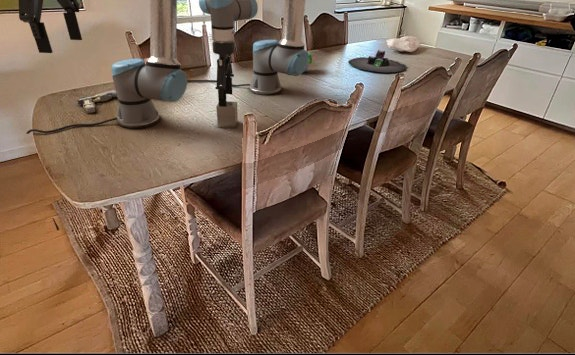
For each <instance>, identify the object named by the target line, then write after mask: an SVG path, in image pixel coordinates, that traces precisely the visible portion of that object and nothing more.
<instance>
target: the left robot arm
mask: <svg viewBox="0 0 575 355" xmlns="http://www.w3.org/2000/svg"><path fill="white" fill-rule="evenodd" d="M56 2H57V4H59V6H60V7H61V8H62V9H63V10H64V12H62V14H63V18H64V21H65V25H66V28H67V32H68V36H69V40H70V41H82V40H83V37H82V33H81V29H80V26H79V21H78V18H77V13H80V4H79V2H78V0H56ZM43 5H44V0H18V19H19V20H20V21H21V22H23V23H27V24H29V28H30V31H31V33H32V36H33V38H34V41H35V44H36V47H37V50H38V54H39V53H40V54H53V51H54V50H53V48H52V45H51V41H50V39H49V35H48V32H47V28H46V26H45V22H44V21H41V19H42V12H43V7H44V6H43ZM149 21H150V22H149V32H150V33H149V34H150V35H149V36H150V38H149V39H150V44H149V45H150V46H149V48H150V51H149V53H150V56H149V57H148V59H147V60H146V65H145V61H144V58H129V59H123V60H120V61H116V62H114V63H113V64H112V65H111V68H110V69H111V76H112V81H113V84H114V90H115V91H116V93H117V97H116V98H117V101H118V108H117V115H116V116H115V117H113V118H108V119H105V120H102V121H99V122H94V123H73V124H69V125H64V126H61V127H57V128H54V129H51V130H50V129H49V130H44V129H43V130H42V129H38V128H31V129H29V130H28V131H26V135H28V134H31V133H32V132H37V133H43V134H51V133H55V132H59V131H62V130H65V129H69V128H73V127H92V126H99V125H102V124H106V123H108V122H109V123H110V122H112V121H116V120H117V124H118V125H119V126H120V127H122V128H125V129H143V128H149V127H151V126H153V125H155V124H157V123H158V122H159V121H160V114H159V110H157V108H156V106H155V104H154V102H153V101H152V100H154V101H155V100H156V101H161V102H164V103H167V102H168V103H176V102H179V101H180V100H181V99H182V98H183V96H184V95H185V93H186V90H187V86H188V82H187V80H188V77H187V74H186V72H185V71H184V70H182V69H181V63H180V62H179V61H178V59H177V34H178V33H177V32H178V30H177V29H178V28H177V26H178V25H177V24H178V0H149ZM52 220H53V224H54V226H55V228H56V231H60V227H59V226H58V224H57V222H56V220H55V218H54V217H52Z"/></svg>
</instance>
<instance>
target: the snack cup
mask: <svg viewBox="0 0 575 355" xmlns="http://www.w3.org/2000/svg"><path fill="white" fill-rule="evenodd" d="M307 52H308V55H309V59H308V64H307V66H306V68H305V70H304V72H303V73H302V74H304V73H307V71H308V67H309V65H312V63H313V56H312V54H311V52H309V51H307Z"/></svg>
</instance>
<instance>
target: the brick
mask: <svg viewBox="0 0 575 355" xmlns="http://www.w3.org/2000/svg"><path fill="white" fill-rule="evenodd" d="M226 102H227V107H219V101H218V103H216V104H217V105H216V120H217V128H228V129H229V128H231V129H232V128H233V129H236V128H237V125H238V123H239V116H238V115H239V114H238V101H229V100H226Z"/></svg>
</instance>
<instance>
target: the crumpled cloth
mask: <svg viewBox="0 0 575 355" xmlns="http://www.w3.org/2000/svg"><path fill="white" fill-rule="evenodd" d="M385 42H386V43H387V44H386V46H387V47H388V48H389V49H390V50H395V51H398V52H400V53H404V52H408V53H413V52H415V51H416V50H417V49H418V48H419V47H420V46H421V44H422V40H420V39H419V38H418V37H415V36H409V35H406V36H402V37H401V36H400V38H398V37H397V38H396V37H395V38H390V39H386V40H385Z"/></svg>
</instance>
